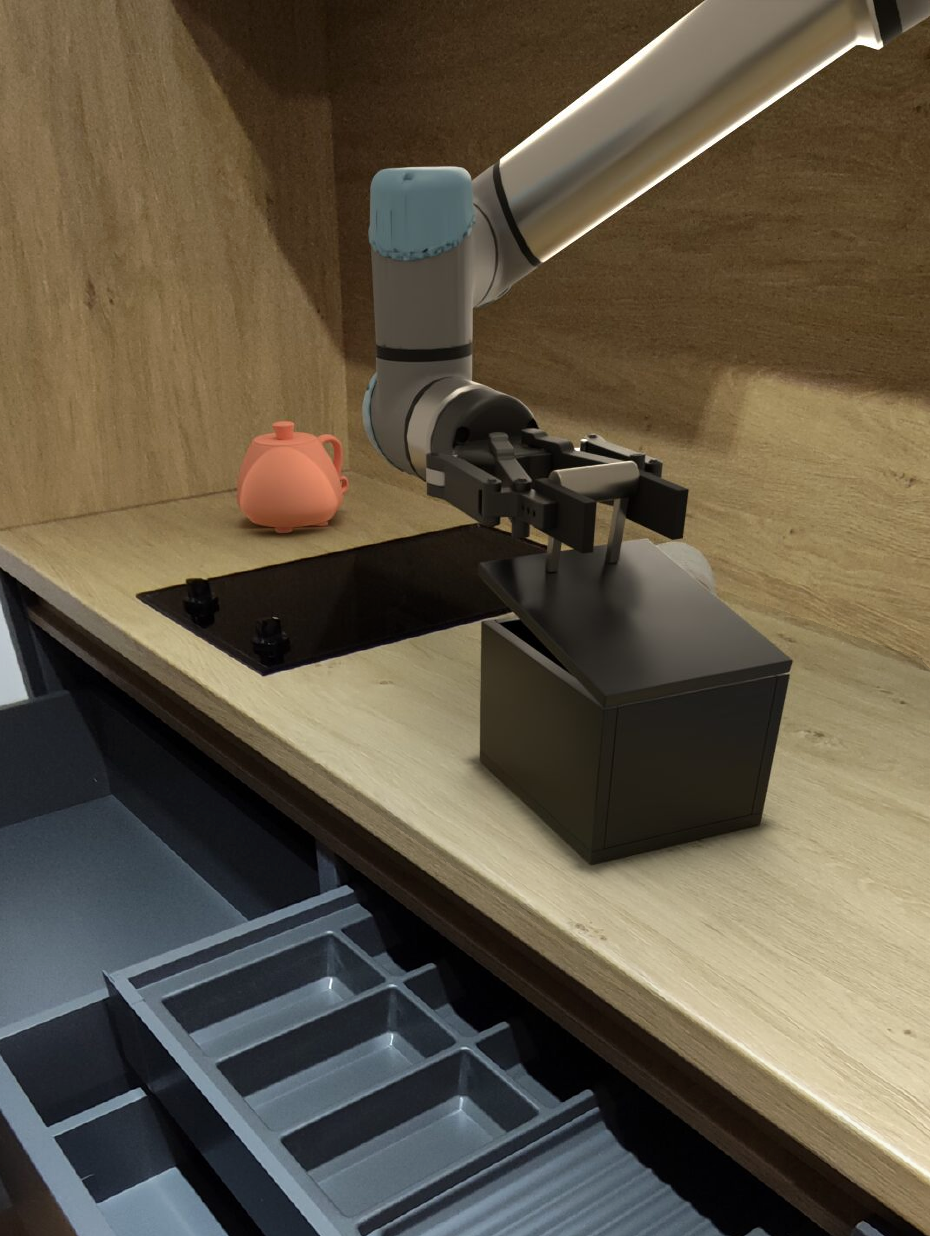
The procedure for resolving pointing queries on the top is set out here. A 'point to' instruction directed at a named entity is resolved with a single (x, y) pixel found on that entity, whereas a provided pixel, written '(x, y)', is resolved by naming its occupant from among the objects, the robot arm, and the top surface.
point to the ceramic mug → (690, 562)
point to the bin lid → (628, 609)
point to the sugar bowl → (291, 479)
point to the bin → (623, 751)
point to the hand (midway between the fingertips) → (635, 520)
